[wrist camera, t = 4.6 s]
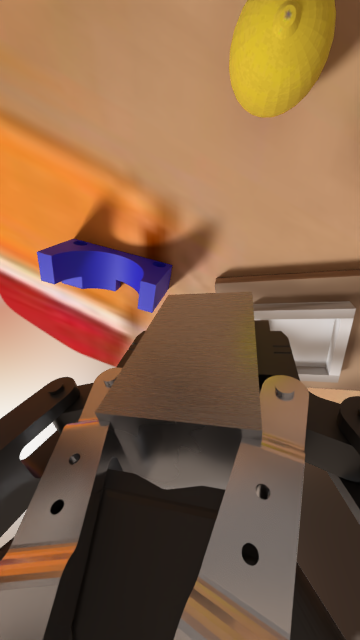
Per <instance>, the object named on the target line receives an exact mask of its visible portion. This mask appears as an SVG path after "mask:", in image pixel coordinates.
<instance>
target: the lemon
mask: <svg viewBox="0 0 360 640" xmlns="http://www.w3.org/2000/svg"><path fill="white" fill-rule="evenodd" d="M335 20H336V9H335V0H248V1H247V2H246V4H245V5H244V7H243V9H242V12H241V14H240V17H239V19H238V22H237V24H236V27H235V30H234V34H233V39H232V43H231V48H230V60H229V72H230V79H231V85H232V88H233V91H234V94H235V96H236V99H237V100H238V101H239V103H240V104H241V106H242V107H243V108H244V109H245V110H246V111H248V112H249V113H250V114H252V115H255V116H258V117H274V116H277V115H280V114H283V113H285V112H286V111H288V110H290V109H291V108H293V107H294V106H296V105H297V104H298V103H299V102H300V101H301V100H302V99H303V98H304V97H305V96H306V95H307V94H308V92H309V91H310V90H311V88H312V87H313V85H314V84H315V83H316V81H317V80H318V78H319V76H320V74H321V72H322V70H323V68H324V65H325V63H326V61H327V59H328V56H329V52H330V49H331V45H332V42H333V38H334V30H335Z"/></svg>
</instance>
